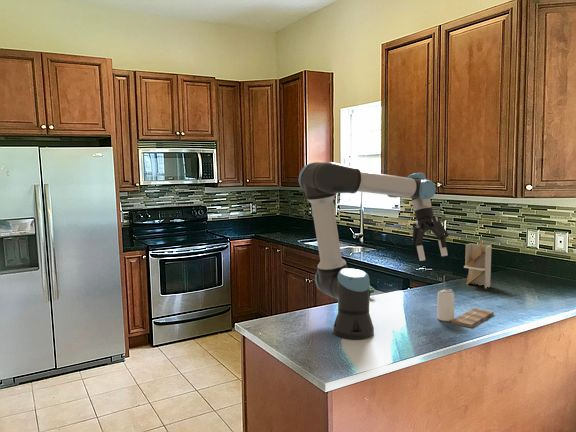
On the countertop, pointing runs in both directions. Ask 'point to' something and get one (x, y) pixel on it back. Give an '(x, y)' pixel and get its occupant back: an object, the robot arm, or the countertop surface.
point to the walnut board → (472, 317)
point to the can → (445, 305)
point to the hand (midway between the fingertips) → (433, 258)
